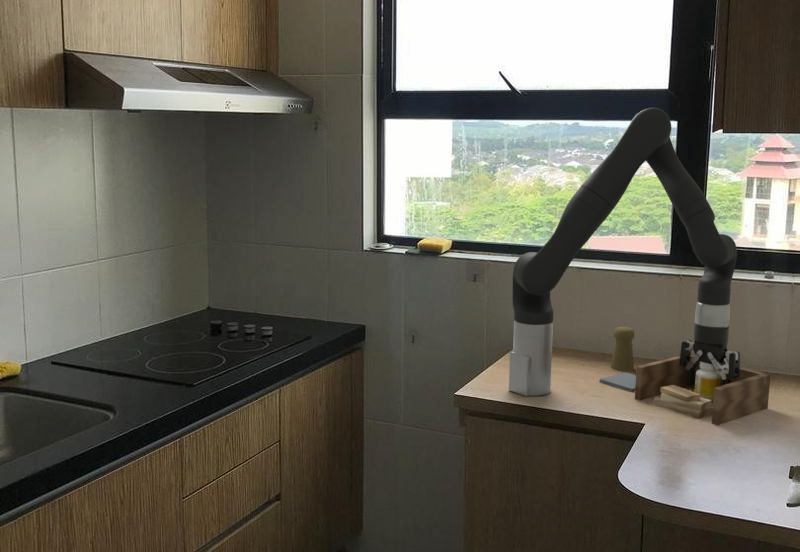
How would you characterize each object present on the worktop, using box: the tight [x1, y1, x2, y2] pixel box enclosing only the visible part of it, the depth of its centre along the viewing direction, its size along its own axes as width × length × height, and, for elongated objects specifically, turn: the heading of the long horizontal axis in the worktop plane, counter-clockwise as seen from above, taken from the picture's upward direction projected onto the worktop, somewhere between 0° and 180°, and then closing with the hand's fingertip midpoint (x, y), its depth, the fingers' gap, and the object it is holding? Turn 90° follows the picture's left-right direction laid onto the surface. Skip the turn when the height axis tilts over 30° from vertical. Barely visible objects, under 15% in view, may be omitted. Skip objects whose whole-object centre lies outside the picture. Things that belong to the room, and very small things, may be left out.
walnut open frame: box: [634, 354, 771, 426], centre depth 204 cm, size 20×22×8 cm
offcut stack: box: [653, 385, 713, 419], centre depth 200 cm, size 6×12×4 cm, turn 37°
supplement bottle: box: [693, 361, 720, 406], centre depth 205 cm, size 5×5×10 cm
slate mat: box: [599, 371, 636, 393], centre depth 219 cm, size 10×10×1 cm
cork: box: [610, 326, 635, 372], centre depth 232 cm, size 6×6×11 cm
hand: (707, 389), depth 205 cm, fingers open, 8 cm apart
